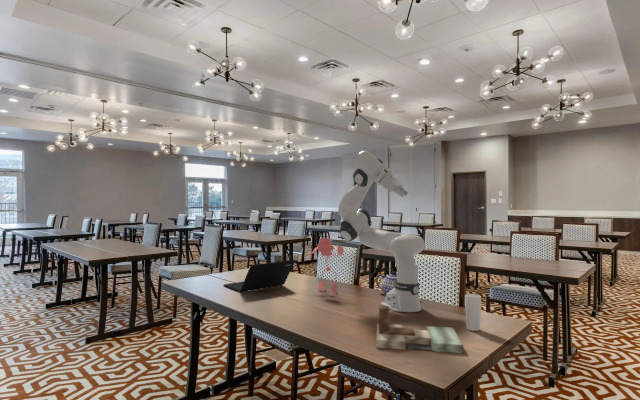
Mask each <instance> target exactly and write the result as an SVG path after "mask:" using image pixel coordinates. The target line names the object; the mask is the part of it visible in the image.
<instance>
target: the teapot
mask: <svg viewBox="0 0 640 400" xmlns="http://www.w3.org/2000/svg"><path fill="white" fill-rule="evenodd" d="M380 277H381V278H382V281H381V286H380V284H379V278H380ZM393 282H397V271H394V270H393V271H392V272H391V273H390V274H386V275H385V276H384V275H383V274H382V273H380V274H378V275H377V276H376V278H375V283H376V286H377V288H379V289H380V290H382V292H383V294H385V295H386V294H387V293H388V292H390V291H391V290H392V289H394V287H395V284H394V283H393Z"/></svg>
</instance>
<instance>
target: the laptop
mask: <svg viewBox="0 0 640 400" xmlns="http://www.w3.org/2000/svg"><path fill="white" fill-rule="evenodd" d="M295 262H296V260H295V259H293V260H286V261H285V260H284V261H276V262H275V261H274V262H267V263H260V264H253V265H252V264H251V266H250V267H249V269H248V271H247V273H246V275H245V278H244V280H243V281H239V282H232V283H225V284H223V287H225V286H227V287H229V288H228V289H230V288H232V289H231V290H233V289H234V290H233V291H235V290H237V291H236V292H238V291H241V292H240V293H243V292H242V291H246V292H249V291H248V290H252V291H255V290H254V289H258V290H261V289H260V288H264V289H267V288H266V287H270V288H272V287H271V286H275V287H278V286H277V285H281V286H283V285H285V283H286V281H287V279H288V277H289V274H290V273H291V271H292V268H293V266H294V264H295ZM227 287H226V288H227Z"/></svg>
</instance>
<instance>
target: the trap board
mask: <svg viewBox="0 0 640 400" xmlns="http://www.w3.org/2000/svg"><path fill="white" fill-rule="evenodd" d="M389 327H397V328H404V326H403V324H395V323H394V324H393V323H389ZM414 333H415V336H409V335H392V334H379V323H376V346H375V347H376V348H379V349H396V350H408V351H409V350H410V351H422V352H423V351H426V352H439V353H440V352H443V353H454V354H464V344H463V343H462V341H461V339H460V337H459V336H458V334H457V332H456V330H455V329H454V327H450V326H449V327H446V326H429V325H427V326H425V329H423V330H422V329H414Z"/></svg>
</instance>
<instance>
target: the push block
mask: <svg viewBox="0 0 640 400" xmlns="http://www.w3.org/2000/svg"><path fill="white" fill-rule="evenodd" d="M378 310H379V311H378V324H379V334H392V335H409V336H415V333H414V330H415V329H414V328H413V327H403V328H397V327H389V324H390V309H389V306H382V305H379V306H378Z"/></svg>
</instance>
